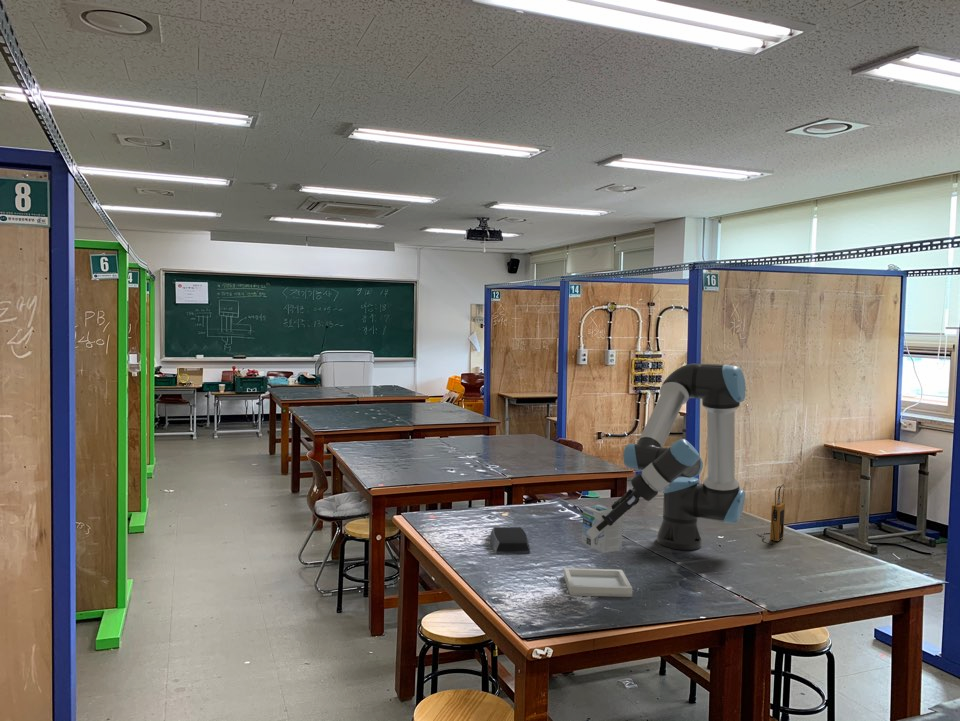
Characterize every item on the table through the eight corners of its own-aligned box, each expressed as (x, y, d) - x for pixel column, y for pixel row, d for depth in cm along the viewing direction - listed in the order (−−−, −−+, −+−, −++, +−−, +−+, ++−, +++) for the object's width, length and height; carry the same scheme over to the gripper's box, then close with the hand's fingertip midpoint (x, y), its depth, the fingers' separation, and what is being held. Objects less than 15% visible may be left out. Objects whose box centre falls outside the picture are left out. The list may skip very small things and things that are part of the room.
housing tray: (563, 576, 201) (564, 568, 200) (621, 577, 200) (621, 569, 200) (569, 595, 186) (570, 586, 186) (632, 597, 186) (632, 588, 186)
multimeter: (758, 530, 254) (761, 478, 253) (786, 536, 247) (789, 482, 246) (745, 539, 242) (748, 484, 241) (774, 545, 236) (777, 489, 235)
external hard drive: (492, 554, 219) (493, 542, 219) (488, 536, 239) (488, 525, 239) (532, 554, 220) (532, 542, 220) (524, 536, 240) (524, 525, 239)
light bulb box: (580, 542, 196) (581, 506, 195) (599, 539, 199) (600, 503, 198) (603, 553, 186) (604, 515, 186) (622, 550, 189) (623, 512, 189)
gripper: (655, 502, 175) (595, 552, 181) (662, 483, 198) (608, 528, 204) (635, 480, 177) (576, 530, 183) (645, 464, 199) (592, 509, 205)
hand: (593, 529), depth 193 cm, fingers closed on light bulb box, 12 cm apart
